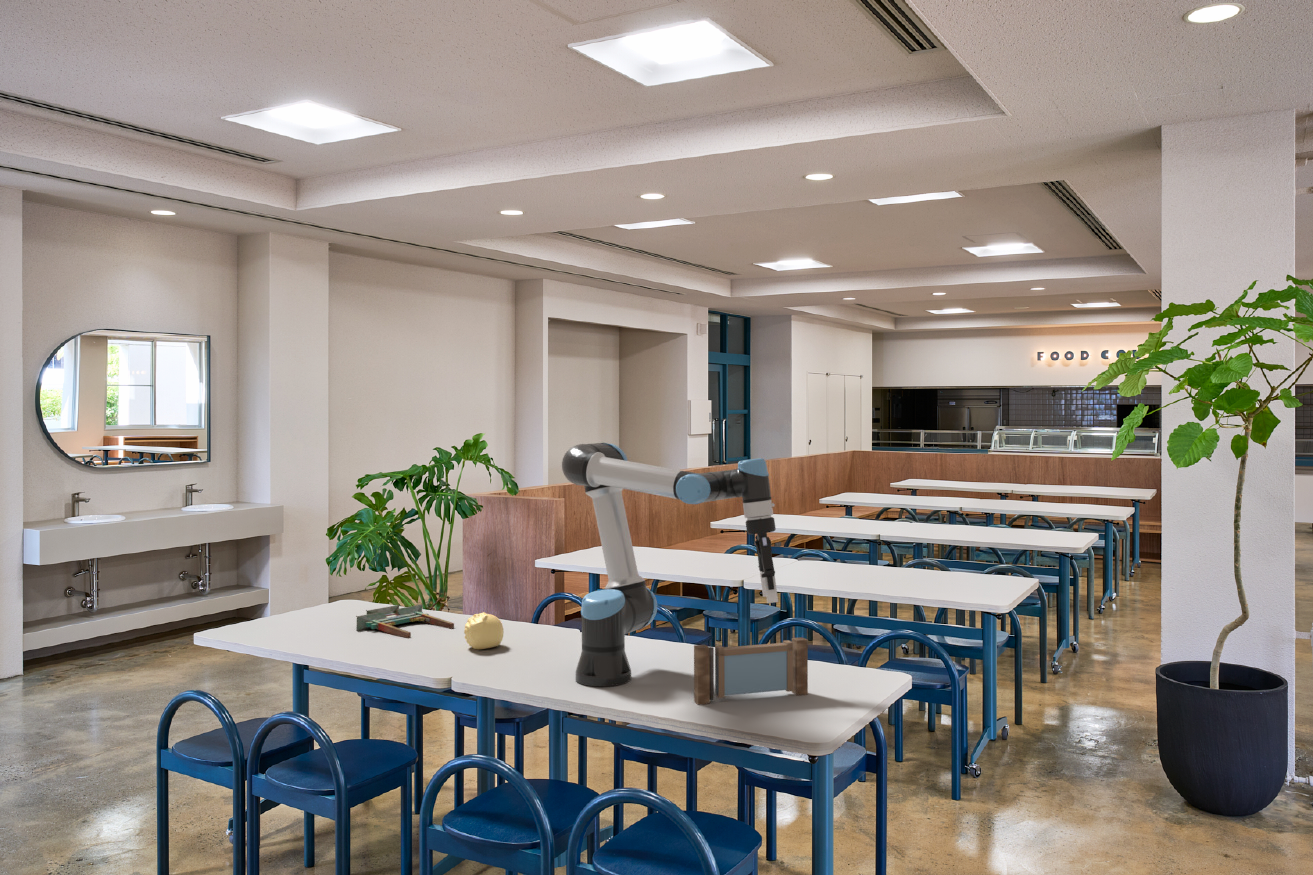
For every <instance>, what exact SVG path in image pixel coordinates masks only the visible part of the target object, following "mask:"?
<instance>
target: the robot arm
mask: <svg viewBox="0 0 1313 875" xmlns="http://www.w3.org/2000/svg"><path fill="white" fill-rule="evenodd" d="M561 468H562V469H561V470H562V473H563V475H564V477H565V478H566V479H567V480H568V482H570V483H571V484H574V485H577V486H583V487H584V491H585V495H587V496H588V497H590V498H591V499H592V504H593V509H594V515H595V519H596V523H597V529H598V534H599V539H600V544H601V549H602V553H603V554H602V555H603V558H604V564H605V569H606V573H607V574H606V575H607V577H608V580H607V583H606V586H604V589H600V590H594V591H592V592H589V593H586V594H585V595H584V596H583V597H582V600H581V608H580V615H581V653H580V656H579V659H578V662H577V666H576V669H575V682H577V683H578V684H581V685H584V686H590V687H612V686H613V687H614V686H620V685H624V684H626V683H629V682H630V681H631V680H632V669H631V666H630V662H629V660H628V657H627V653H626V650H625V649H626V648H625V646H626V645H625V644H626V642H625V640H626V639H625V637H626V635H627V634H629V633H632V632H635V631H640V630H642V629H644V628H646V627H647V626H649V625H650V624H651V623H652V622H653V620H654V619H655V617H656V615H657V612H658V601H657V597H656V595H655V593H654V592H653V591H651V589H650V588H648V587H647V582H646V579H645V578H644V577H642V576H640V574H639V571H638V567H637V562H636V557H635V552H634V547H633V542H632V536H631V533H630V529H629V522H628V517H627V512H626V508H625V503H624V498H623V494H622V492H623V490H629V491H632V492H638V493H644V494H649V495H654V496H660V497H665V498H671V499H675V500H680V501H681V502H683V503H684V504H687V505H700V504H703V503H708V502H713V501H720V500H727V499H733V498H734V499H735V498H742V507H743V516H744V518H745V519H746V521H745V529H746V533H747V535H755V537H754V538H755V540H754V546H755V550H756V551H755V552H756V555H757V561H758V562H757V563H758V565H757V567H758V570H759V577H760V582H761V583H760V584H761V591H762V598H763V597H764V598H765V597H766V603H767V604H772V603H779V597H778V591H777V583H776V576H775V574H776V570H775V566H774V562H773V554H772V553H773V551H772V540H771V539H770V537H769V536H768V534H767V533H773V532H775V531H776V523H775V518H774V516H773V515H774V510H773V509H774V507H775V506H776V504H775V503H774V502H773V501H772V494H771V485H770V484H771V483H770V477H769V476H770V474H769V470H768V467H767V461H766V459H764V458H751V459H744V460H739V461H738V463H737V468H734V469H728V470H720V471H719V470H718V471H708V472H699V473H698V472H692V471H687V470H681V469H675V468H669V467H663V466H659V465H651V464H647V463H641V462H635V461H629V460H628V457H627V455H626V454H625V452H624V450H623V449H621V448H620V447H619V446H617V445H616V444H613V443H608V442H598V443H580V444H575V445H574V446H572V447H570V448H569V449H568V450H567V451H566V452H565V453H564V455H563V457H562V461H561Z"/></svg>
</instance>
